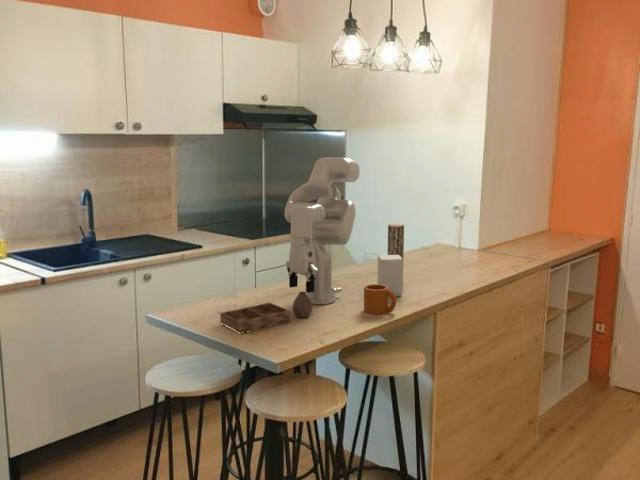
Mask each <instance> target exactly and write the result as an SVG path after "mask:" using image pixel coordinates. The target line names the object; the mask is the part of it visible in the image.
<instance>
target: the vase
mask: <svg viewBox="0 0 640 480" xmlns="http://www.w3.org/2000/svg"><path fill="white" fill-rule="evenodd" d="M292 303H293V304H292V311H293V313H294V315H295V317H297V318H298V317H299V318H298V319H306V317H307V318H308V317H309V316H310V315H312V311H313V304H312V302H311V300H310V298H309V297H308V296H307V293H306V291H299V292H298V295H297V296H296V297H295V298H294V300H293V302H292Z"/></svg>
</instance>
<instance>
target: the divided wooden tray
mask: <svg viewBox="0 0 640 480" xmlns="http://www.w3.org/2000/svg"><path fill="white" fill-rule="evenodd" d="M291 315H292V313H291V310H289V309H287V308H284V307H281V306H279V305H277V304H275V303H272V302H265V303H260V304H257V305H252V306H247V307H243V308H238V309H233V310H229V311H223V312H220V314H219V316H220V318H219V319H220V322H219V323H220V324H221V323H223V324H225V325H227V326H229V327H231V328H233V329H235V330H236V331H238V332H240V333H242V332H247V331H253V330H257V331H259V330H258V329H261V330H263V329H262V328H265V329H268V328H267V327H269V328H272V327H271V326H273V327H276V326H275V325H277V326H279V324H281V325H284V324H283V323H285V324H288V323H287V322H289V323H291V322H292V320H291ZM253 332H254V331H253Z"/></svg>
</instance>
